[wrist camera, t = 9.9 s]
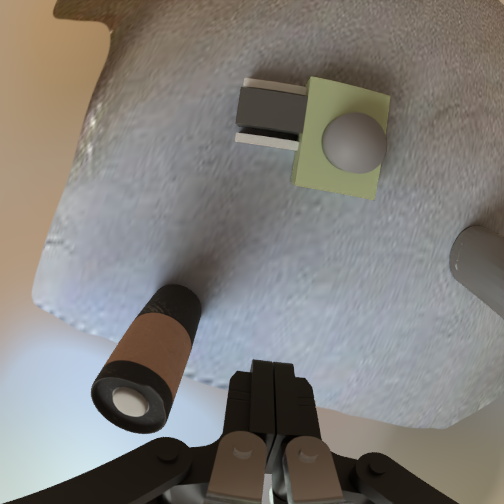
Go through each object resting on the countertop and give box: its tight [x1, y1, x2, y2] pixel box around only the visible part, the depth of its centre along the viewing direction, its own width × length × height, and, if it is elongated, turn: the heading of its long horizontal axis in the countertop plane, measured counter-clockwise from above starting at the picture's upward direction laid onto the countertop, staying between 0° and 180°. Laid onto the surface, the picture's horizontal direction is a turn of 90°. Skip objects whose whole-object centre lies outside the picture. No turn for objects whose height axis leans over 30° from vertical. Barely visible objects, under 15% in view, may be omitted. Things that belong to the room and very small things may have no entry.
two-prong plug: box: [235, 76, 390, 200], centre depth 32 cm, size 16×12×8 cm
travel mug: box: [91, 284, 201, 434], centre depth 34 cm, size 8×8×20 cm
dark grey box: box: [236, 87, 308, 135], centre depth 33 cm, size 7×4×5 cm, turn 82°
